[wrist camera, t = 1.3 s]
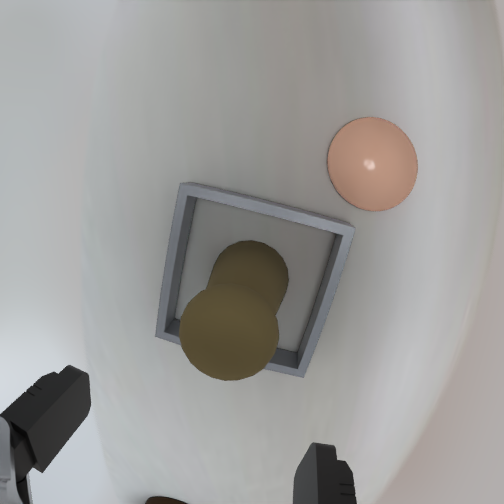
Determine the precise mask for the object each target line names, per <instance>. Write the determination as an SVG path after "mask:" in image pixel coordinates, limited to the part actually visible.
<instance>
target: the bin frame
mask: <svg viewBox="0 0 504 504" xmlns="http://www.w3.org/2000/svg"><path fill="white" fill-rule="evenodd" d="M196 197H197V198H202V199H206V200H210V201H214V202H218V203H222V204H226V205H231V206H235V207H239V208H243V209H247V210H251V211H255V212H258V213H262V214H266V215H270V216H274V217H278V218H282V219H285V220H289V221H293V222H297V223H300V224H304V225H308V226H312V227H315V228H319V229H322V230H326V231H330V232H333V233H337V235H336V238H335V241H334V245H333V248H332V251H331V255H330V258H329V261H328V264H327V268H326V271H325V274H324V277H323V280H322V283H321V287H320V290H319V293H318V296H317V299H316V302H315V305H314V308H313V311H312V314H311V317H310V320H309V322H308V325H307V328H306V331H305V334H304V337H303V339H302V342H301V345H300V348H299V351H298V353H295V352H291V351H287V350H282V349H278V348H276V351H275V354H274V355H273V357H272V358H271V360H270V361H269V362H268V364H267V365H266V367H265V368H264V369H267V370H272V371H276V372H280V373H284V374H289V375H293V376H298V377H302V378H304V375H305V373H306V370H307V368H308V365H309V363H310V360H311V358H312V355H313V353H314V350H315V348H316V345H317V342H318V340H319V337H320V334H321V332H322V329H323V326H324V323H325V321H326V318H327V315H328V312H329V310H330V307H331V304H332V301H333V298H334V295H335V292H336V289H337V286H338V283H339V280H340V277H341V274H342V271H343V268H344V265H345V262H346V259H347V256H348V252H349V249H350V246H351V243H352V239H353V236H354V233H355V229H356V228H355V227H354V226H353V225H351V224H350V223H348V222H345V221H341V220H338V219H334V218H331V217H327V216H324V215H320V214H316V213H313V212H309V211H305V210H302V209H298V208H294V207H291V206H287V205H283V204H279V203H275V202H271V201H267V200H264V199H260V198H256V197H252V196H248V195H243V194H239V193H235V192H231V191H227V190H223V189H218V188H214V187H210V186H205V185H201V184H197V183H192V182H187V183H180V186H179V191H178V196H177V201H176V206H175V211H174V216H173V222H172V227H171V233H170V238H169V244H168V250H167V256H166V262H165V269H164V275H163V282H162V288H161V295H160V303H159V310H158V318H157V326H156V334H155V337H158V338H161V339H164V340H167V341H170V342H173V343H176V344H179V345H181V342H180V338H179V328H180V321H178V320H175V319H174V317H175V310H176V304H177V298H178V292H179V286H180V280H181V274H182V268H183V263H184V257H185V252H186V247H187V241H188V236H189V231H190V226H191V221H192V216H193V211H194V206H195V202H196Z"/></svg>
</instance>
